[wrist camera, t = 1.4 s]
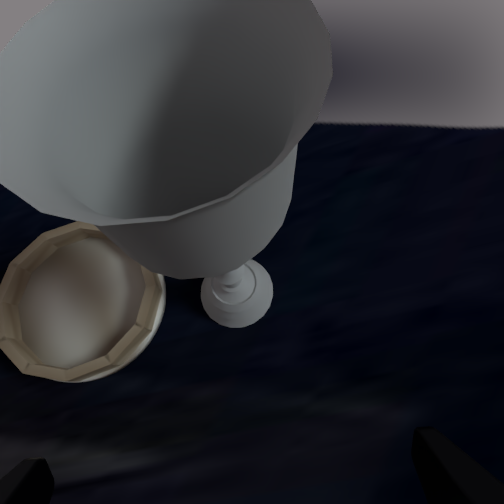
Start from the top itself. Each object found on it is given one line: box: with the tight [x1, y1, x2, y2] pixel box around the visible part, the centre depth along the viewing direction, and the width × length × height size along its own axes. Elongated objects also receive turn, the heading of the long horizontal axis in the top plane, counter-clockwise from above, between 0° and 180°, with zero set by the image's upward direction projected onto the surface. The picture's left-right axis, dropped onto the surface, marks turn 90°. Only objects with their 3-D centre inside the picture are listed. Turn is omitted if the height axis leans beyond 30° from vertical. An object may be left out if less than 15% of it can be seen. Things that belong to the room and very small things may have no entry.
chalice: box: [0, 0, 333, 328], centre depth 15 cm, size 7×7×18 cm
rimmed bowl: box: [0, 221, 166, 382], centre depth 23 cm, size 11×11×2 cm
